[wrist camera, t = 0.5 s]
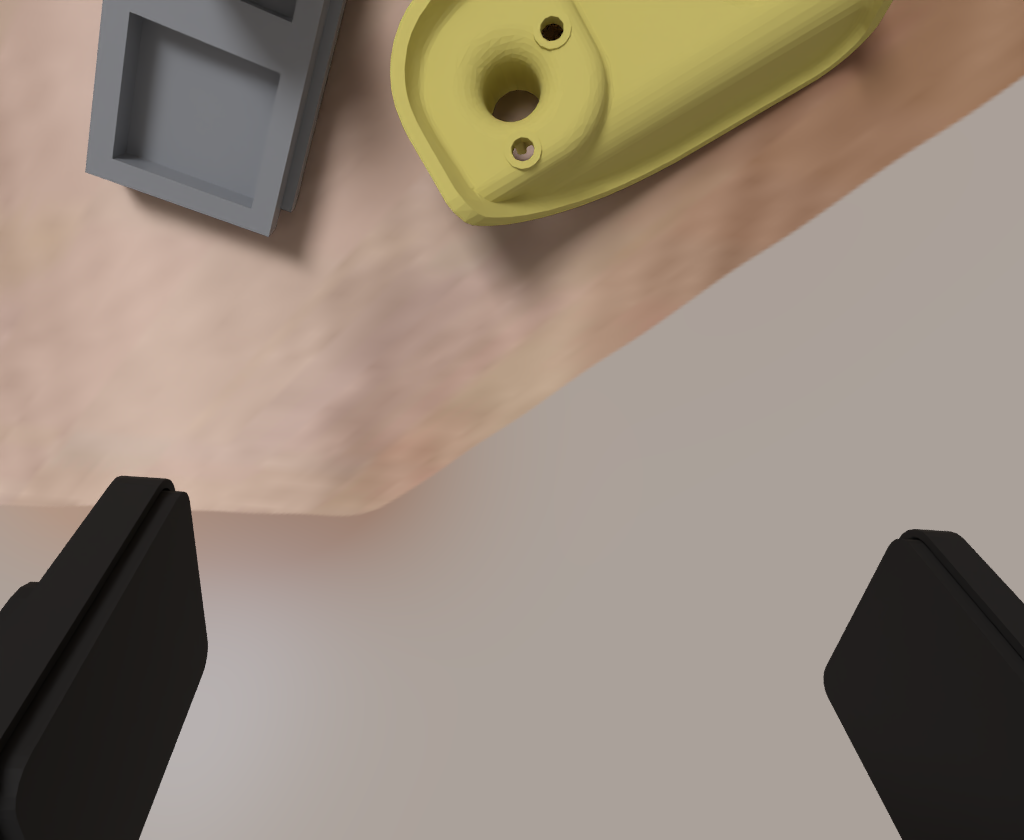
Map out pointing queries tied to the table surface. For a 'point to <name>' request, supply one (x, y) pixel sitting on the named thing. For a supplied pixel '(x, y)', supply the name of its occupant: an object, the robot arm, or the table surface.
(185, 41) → the housing
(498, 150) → the plastic component
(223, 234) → the table surface
